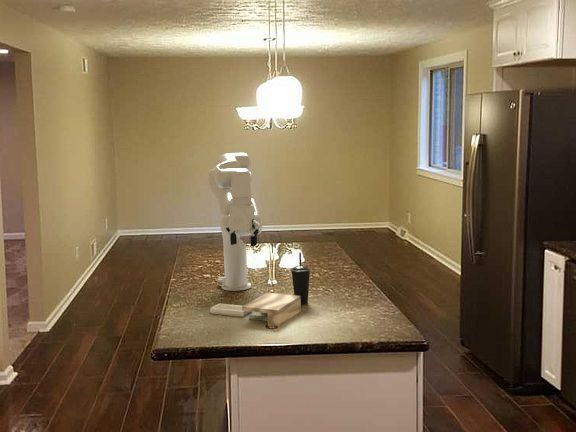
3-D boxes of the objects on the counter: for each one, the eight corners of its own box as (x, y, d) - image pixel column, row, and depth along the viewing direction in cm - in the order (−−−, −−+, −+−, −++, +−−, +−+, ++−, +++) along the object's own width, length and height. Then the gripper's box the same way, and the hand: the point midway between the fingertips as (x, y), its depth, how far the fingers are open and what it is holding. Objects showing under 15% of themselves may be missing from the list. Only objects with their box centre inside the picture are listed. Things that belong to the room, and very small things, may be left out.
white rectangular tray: (210, 313, 268) (210, 308, 268) (219, 308, 275) (219, 303, 274) (243, 316, 263) (243, 311, 262) (252, 311, 269) (252, 306, 269)
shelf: (242, 322, 256) (241, 306, 255) (267, 307, 274) (266, 292, 273) (278, 326, 250) (277, 310, 249) (300, 311, 268) (300, 295, 267)
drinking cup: (299, 299, 284) (298, 250, 281) (315, 302, 279) (314, 252, 276) (287, 304, 278) (286, 253, 275) (303, 307, 273) (301, 255, 270)
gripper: (218, 202, 281) (220, 245, 283) (254, 203, 272) (256, 248, 274) (229, 200, 288) (231, 242, 290) (265, 201, 278) (267, 244, 281)
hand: (243, 245), depth 282 cm, fingers open, 9 cm apart
